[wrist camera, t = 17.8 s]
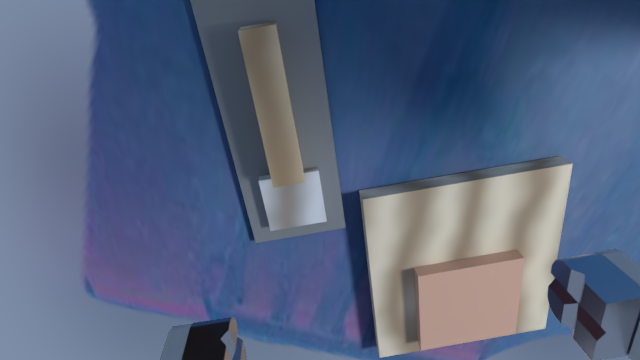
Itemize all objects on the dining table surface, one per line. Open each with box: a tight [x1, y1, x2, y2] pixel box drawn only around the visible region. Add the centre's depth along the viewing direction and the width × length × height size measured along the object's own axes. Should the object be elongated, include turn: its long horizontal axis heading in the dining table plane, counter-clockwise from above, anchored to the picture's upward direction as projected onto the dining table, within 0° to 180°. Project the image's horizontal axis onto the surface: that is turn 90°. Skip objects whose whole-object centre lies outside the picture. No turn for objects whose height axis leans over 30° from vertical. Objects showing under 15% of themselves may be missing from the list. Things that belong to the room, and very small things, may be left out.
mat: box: [190, 0, 346, 243], centre depth 37 cm, size 10×26×1 cm, turn 8°
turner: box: [238, 21, 327, 231], centre depth 36 cm, size 6×20×3 cm, turn 8°
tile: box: [414, 250, 524, 350], centre depth 47 cm, size 12×2×12 cm
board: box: [359, 156, 573, 358], centre depth 47 cm, size 22×24×2 cm
